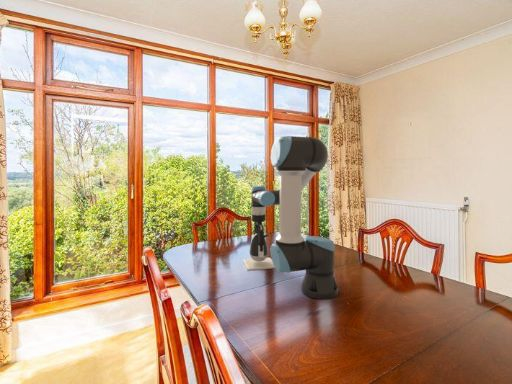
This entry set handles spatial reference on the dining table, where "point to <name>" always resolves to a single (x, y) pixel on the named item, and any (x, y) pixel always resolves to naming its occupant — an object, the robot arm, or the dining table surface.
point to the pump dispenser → (255, 248)
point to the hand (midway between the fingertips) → (259, 254)
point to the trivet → (258, 264)
